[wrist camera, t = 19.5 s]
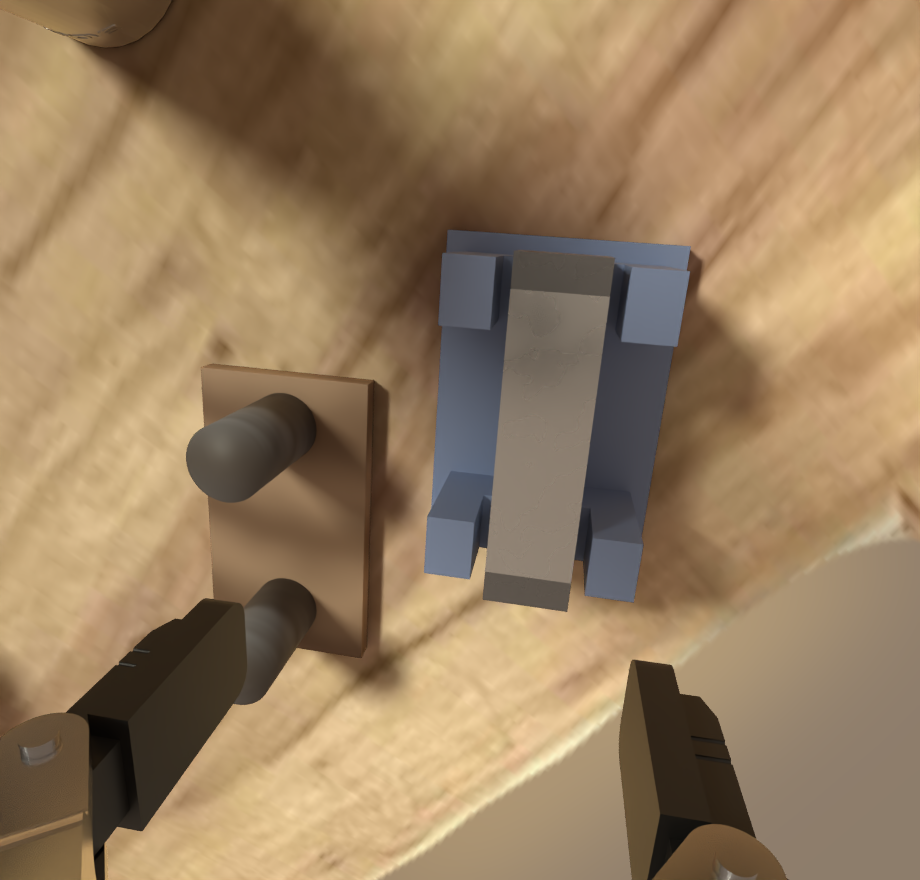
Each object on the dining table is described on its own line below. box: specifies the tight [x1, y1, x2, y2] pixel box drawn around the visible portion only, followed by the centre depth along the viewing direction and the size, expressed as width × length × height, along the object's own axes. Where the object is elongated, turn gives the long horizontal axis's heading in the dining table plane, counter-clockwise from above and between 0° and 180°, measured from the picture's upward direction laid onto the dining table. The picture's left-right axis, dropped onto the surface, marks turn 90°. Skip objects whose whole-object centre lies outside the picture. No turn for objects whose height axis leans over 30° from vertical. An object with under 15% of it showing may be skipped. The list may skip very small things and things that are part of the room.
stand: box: [186, 364, 374, 705], centre depth 36 cm, size 18×10×8 cm, turn 176°
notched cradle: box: [424, 230, 691, 603], centre depth 32 cm, size 17×12×8 cm
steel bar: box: [483, 250, 615, 612], centre depth 30 cm, size 16×4×4 cm, turn 176°
